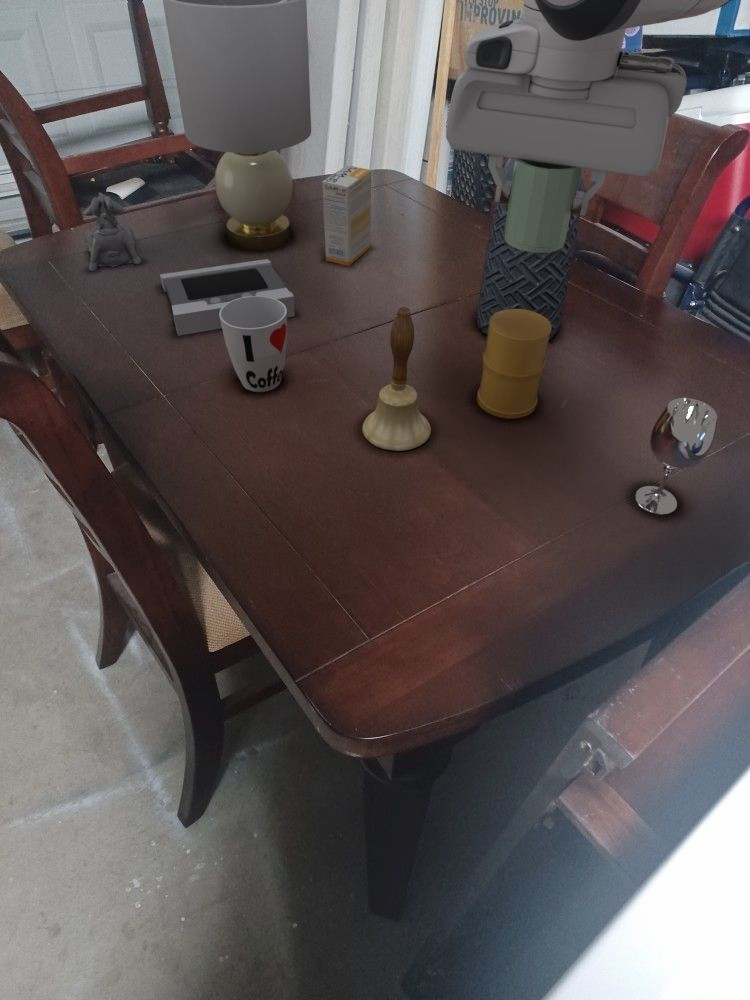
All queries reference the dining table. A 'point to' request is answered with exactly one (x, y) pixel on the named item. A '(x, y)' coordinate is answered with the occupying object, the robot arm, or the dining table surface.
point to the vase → (524, 271)
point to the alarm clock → (220, 292)
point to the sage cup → (540, 205)
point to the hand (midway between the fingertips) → (539, 207)
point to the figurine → (109, 235)
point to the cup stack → (513, 363)
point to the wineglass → (677, 447)
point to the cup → (256, 340)
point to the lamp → (245, 103)
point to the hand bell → (398, 398)
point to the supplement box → (347, 214)
